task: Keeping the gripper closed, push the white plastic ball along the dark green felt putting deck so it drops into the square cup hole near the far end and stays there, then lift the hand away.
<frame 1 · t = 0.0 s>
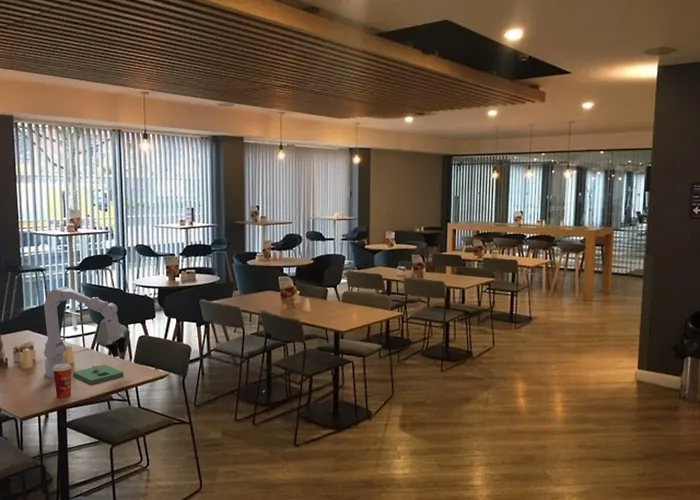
hand: (119, 354, 285), 11 cm above the table, tool pointing down, fingers open, 7 cm apart
putting deck: (98, 376, 286), on the table
ball: (95, 367, 287), point 4 cm above the table, touching putting deck
paper cup: (63, 396, 259), on the table
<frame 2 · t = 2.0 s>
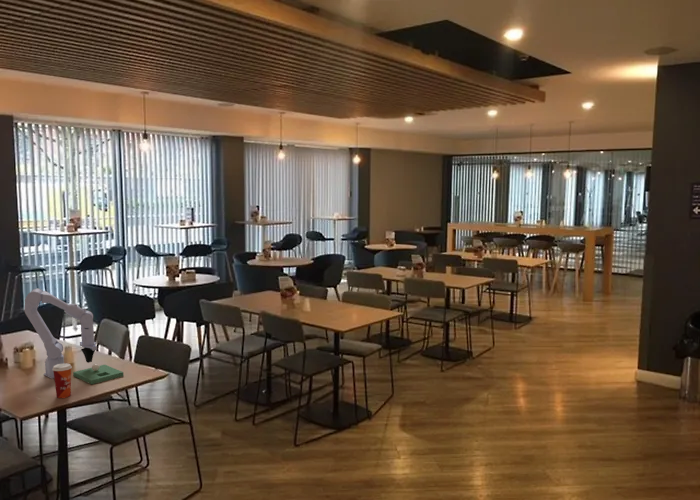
hand: (89, 362, 291), 5 cm above the table, tool pointing down, fingers closed
nothing on the table moved.
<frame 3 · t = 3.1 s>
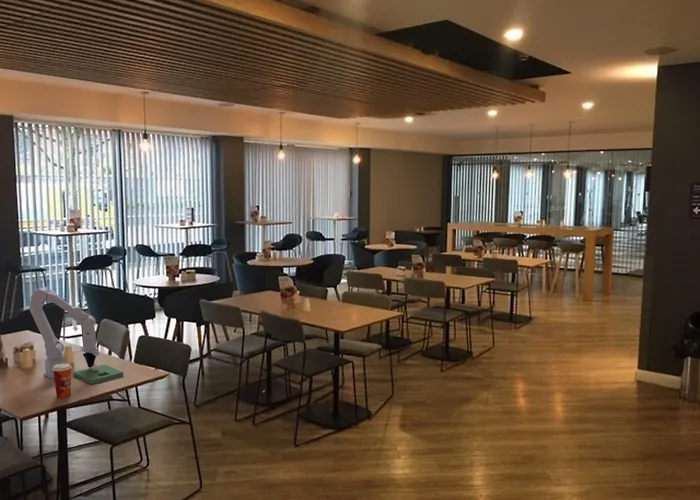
hand: (90, 367, 291), 3 cm above the table, tool pointing down, fingers closed
nothing on the table moved.
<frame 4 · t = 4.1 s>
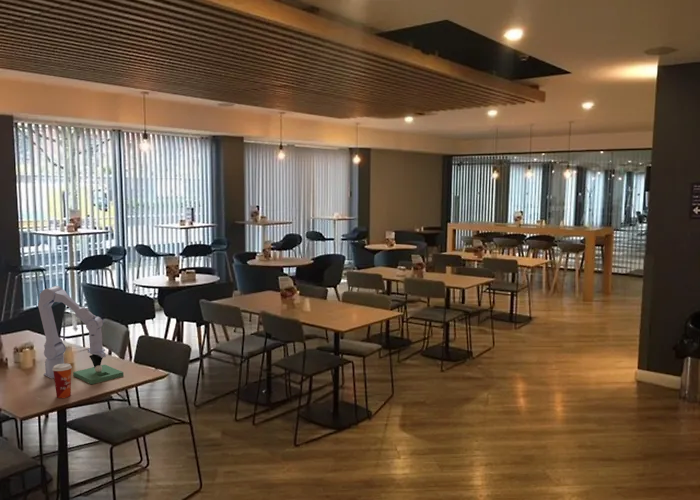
hand: (97, 369, 286), 3 cm above the table, tool pointing down, fingers closed, pressing on ball
ball: (98, 368, 285), point 4 cm above the table, tilted 90°, touching gripper, putting deck
everything else where it was.
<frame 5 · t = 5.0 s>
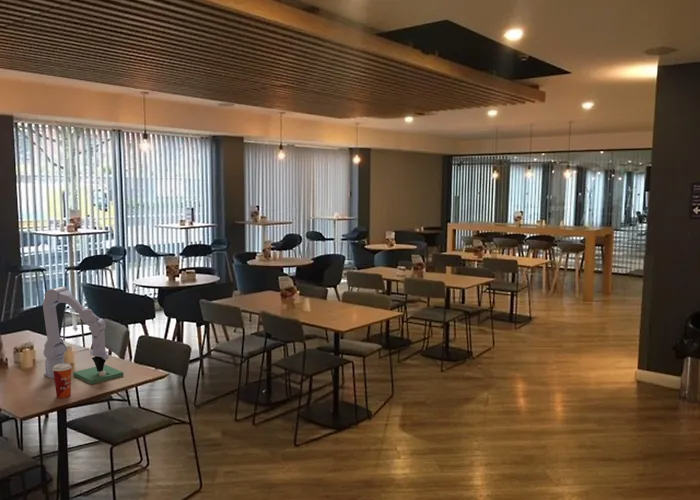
hand: (100, 371, 284), 3 cm above the table, tool pointing down, fingers closed
ball: (102, 374, 283), point 2 cm above the table, tilted 129°
everything else where it was.
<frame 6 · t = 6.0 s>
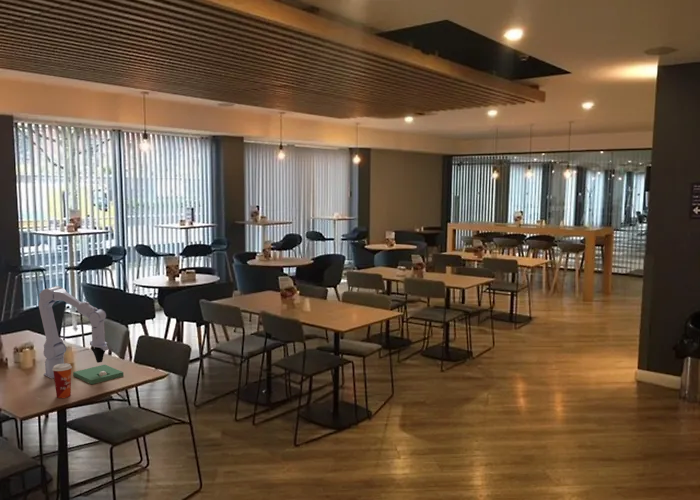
hand: (99, 362, 284), 7 cm above the table, tool pointing down, fingers closed
ball: (103, 374, 282), point 2 cm above the table, tilted 113°
everything else where it was.
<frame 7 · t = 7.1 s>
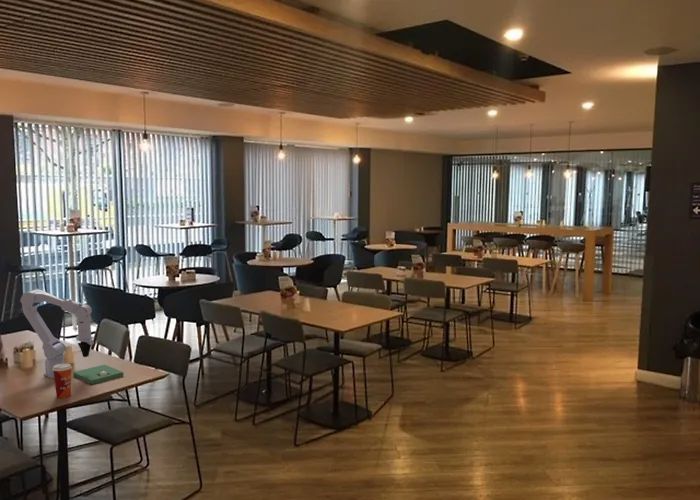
hand: (85, 356, 286), 9 cm above the table, tool pointing down, fingers closed
ball: (103, 374, 282), point 2 cm above the table, tilted 95°
everything else where it was.
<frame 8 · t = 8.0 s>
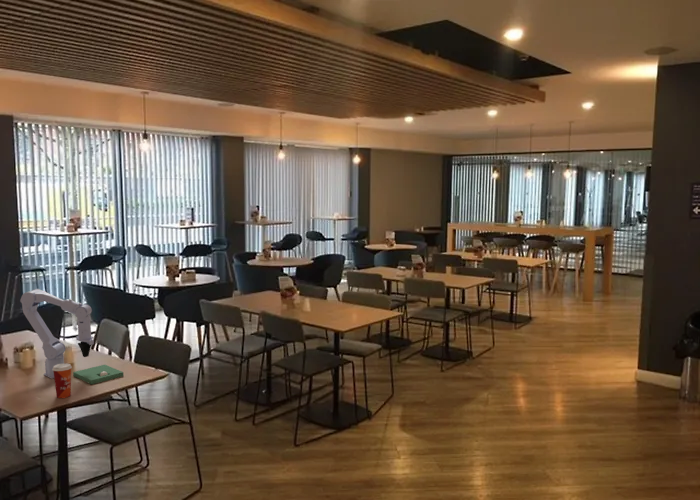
hand: (85, 356, 286), 9 cm above the table, tool pointing down, fingers closed
ball: (103, 375, 282), point 2 cm above the table, tilted 83°
everything else where it was.
at the end: ball 0.7 cm from the target spot on the putting deck, point 1.7 cm above the putting deck's base; the gripper is holding nothing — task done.
